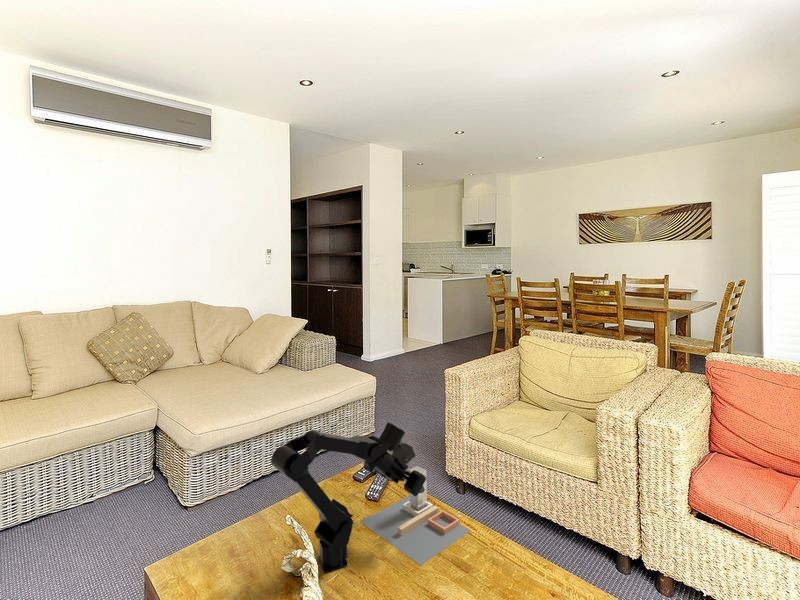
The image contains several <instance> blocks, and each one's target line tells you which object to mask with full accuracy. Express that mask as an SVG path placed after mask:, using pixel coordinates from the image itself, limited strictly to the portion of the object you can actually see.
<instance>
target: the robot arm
mask: <svg viewBox="0 0 800 600" xmlns="http://www.w3.org/2000/svg"><path fill="white" fill-rule="evenodd" d="M405 435H406V432H405V431H404V430H403V429H401V428H400V427H398V426H396V425H394V424H393V423H392V422H389V421H388V422H387V423H386V424H385V427H384V428H383V431H382V432H381V434H380V436H379V437H377V436H374V435H371V436H370V435H369V436H365V435H354V436H352V437H346V436H341V435H335V434H331V433H325V432H321V431H318V430H315V429H313V430H312V429H311V430H309V431H307V432H306V433H305V434H303V435H300V436H298V437H296V438H293V439H290V440H289V441H288V442H287V441H286V443H284V444H283V445H281V446H279V447H277V448H276V450H274V452H273V453H272V455H271V460H270V463H271V465H272V467H274V469H276V470H278V472H280V473H282V474H283V475H284V476H286V477H287V478H288V479H290V480H291V481H292V482H293V483H294V484H295V486H297V488H298V489H299V490H300V491H301V493H302V494H303V495H304V496H305V498H306V499H307V500H308V501H309V502H310V503H311V504H312V506H313V507H314V508H315V509H316V511H317V512H318V518H319V523H318V524H317V526H316V528H315V530H314V531H313V532H314V533H313V534H314V536H315V538H317V539H318V540H319V545H318V546H319V556H318V557H317V560H318V562H319V564H320V567H321V569H322V571H323V573H325V574H326V572H327V573H329V572H332V571H334V570H335V571H336V570H338V569H341V568H344V567H347V566H348V561H347V559H348V544H349V543H350V542H349V541H350V538H351V533H352V530H353V525H354V520H353V517H354V516H353V514H352V513H351V512H350V511H349V510H348V507H346V506H345V505H344V504H343V503H340V502H339V501H338V500H337V499H335V498H332V499H330V498H329V496H328V495H327V494H326V493H325V491H324V490H323V489H322V488H321V486H320V485H319V484H318V482H317V481H316V480H315V479H314V477H313V476H312V475H311V474H310V470H309V469H310V468H309V465H310V464H312V463H313V461H314V459H315V457H316V456H317V454H318V453H319V452H320V451H330V452H335V453H340V454H341V453H342V454H348V455H352V456H355V457H357V458H359V459H361V460H364V461H363V470H365V471H367V472H368V473H371V474H372V473H373V472H375V473H376V474H378V476H381V477H383V479H387V480H390V481H391V482H393V483H394V484H396V485H398V484H399V482H404V481H405V483H404V484H403V489H404V490H405V491H406V492H407V493H408V494H409V493H410V494H412V495H414V496H417V495H418V493H423V492H424V491H425V489H424V487H423V484H424V482H425V481H426V477H425V476H424V475H423V474H421V473H419V472H418V471H416V470H414V471H412V472H411V473H409V470H408V468H409V465H408V464H409V463H410V462H411V461H412V460H413V459H414V458H416V452H415V450H414V447H413V446H412V445H410V444H408V443H405V442H402V440H403V439H404V437H405ZM302 450H305V451H303V452H302V453H300V451H302ZM388 451H389V452H392V454H391V453H389V452H388Z"/></svg>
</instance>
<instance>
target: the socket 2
mask: <svg viewBox="0 0 800 600" xmlns="http://www.w3.org/2000/svg"><path fill="white" fill-rule="evenodd" d="M441 517H445V518H447V519H448V520H450V521H452V522H453V523H451V524H449V525H448V526H446V527H445V528H444V527H442V526H441V525H439V524H437V523H436V522H435V521H436V520H438V519H439V518H441ZM460 521H461V520H460V519H459V518H457V517H455V516H454V515H452V514H451V513H449V512H447V511H446V510H443V509H442V510H441V511H439V513H437V514H436V515H434V516H432V517H431V518H429V519H428V524H429V525H430V526H432V527H433V528H435V529H437V530H438V531H440V532H442V533H443V534H446V533H448V532H449V531H451V530H452V529H454V528H455V527H457V526H458V525H461V523H460Z"/></svg>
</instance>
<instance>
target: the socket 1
mask: <svg viewBox="0 0 800 600" xmlns="http://www.w3.org/2000/svg"><path fill="white" fill-rule="evenodd" d="M433 506H434V504H433V503H431V502H429V501H427V507H425V508H424V509H422V510H420V511H418V512H417V511H416V510H414V509H412V508H411V507H409V501H408V502H406V503H404V504H403V509H404V510H406V511H407V512H409V513H411V514H412V515H414V516H418V515H419V514H421V513H423V512H425V511H426V510H428V509H430V508H431V507H433Z"/></svg>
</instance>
